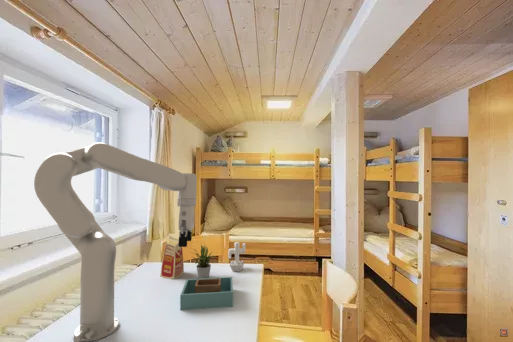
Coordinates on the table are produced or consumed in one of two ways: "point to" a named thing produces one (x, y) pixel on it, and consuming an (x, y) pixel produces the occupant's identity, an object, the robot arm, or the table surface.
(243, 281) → the table surface
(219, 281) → the walnut crate
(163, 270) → the milk carton
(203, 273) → the house plant
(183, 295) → the teal crate
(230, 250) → the figurine
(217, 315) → the table surface
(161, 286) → the table surface
